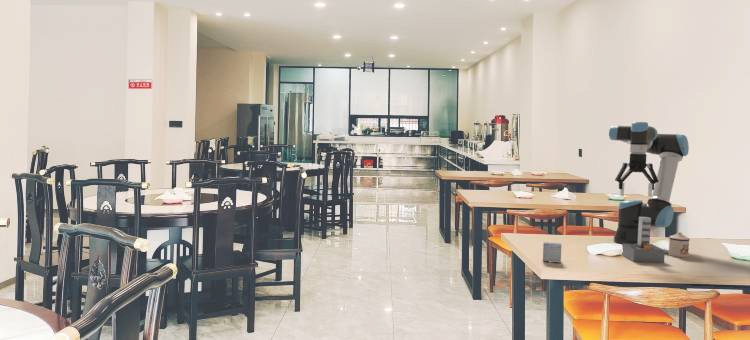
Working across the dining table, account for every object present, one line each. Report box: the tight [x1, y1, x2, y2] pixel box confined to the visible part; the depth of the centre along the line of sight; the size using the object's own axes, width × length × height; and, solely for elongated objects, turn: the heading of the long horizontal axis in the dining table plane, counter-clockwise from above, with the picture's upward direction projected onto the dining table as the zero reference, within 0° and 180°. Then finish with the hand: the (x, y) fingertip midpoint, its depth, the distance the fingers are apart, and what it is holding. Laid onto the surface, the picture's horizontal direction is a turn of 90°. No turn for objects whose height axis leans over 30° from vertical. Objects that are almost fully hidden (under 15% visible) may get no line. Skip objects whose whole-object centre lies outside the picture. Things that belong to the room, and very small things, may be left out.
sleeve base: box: [621, 243, 666, 264], centre depth 280 cm, size 14×14×8 cm
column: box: [637, 217, 652, 248], centre depth 279 cm, size 5×4×20 cm
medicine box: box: [542, 241, 562, 264], centre depth 269 cm, size 8×4×9 cm, turn 71°
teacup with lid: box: [668, 231, 690, 258], centre depth 291 cm, size 12×9×12 cm
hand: (635, 196), depth 291 cm, fingers open, 13 cm apart
